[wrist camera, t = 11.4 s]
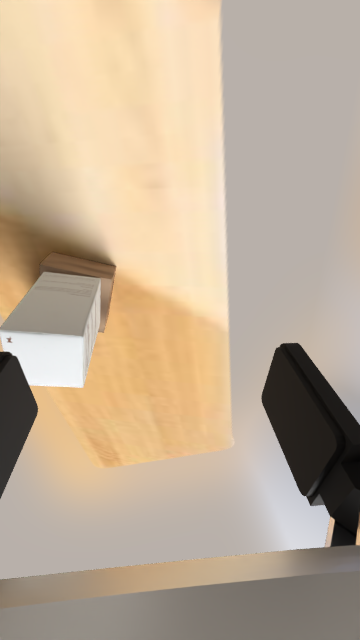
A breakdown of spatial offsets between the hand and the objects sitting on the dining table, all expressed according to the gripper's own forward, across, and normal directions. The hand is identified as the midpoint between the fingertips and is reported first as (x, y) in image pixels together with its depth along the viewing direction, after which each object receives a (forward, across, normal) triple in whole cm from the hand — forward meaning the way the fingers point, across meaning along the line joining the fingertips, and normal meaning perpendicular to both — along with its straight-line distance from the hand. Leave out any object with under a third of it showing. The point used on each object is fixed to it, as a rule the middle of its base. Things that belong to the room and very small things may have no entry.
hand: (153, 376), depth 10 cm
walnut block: (+31, +11, +11) cm, 34 cm away
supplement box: (+26, +11, +10) cm, 30 cm away
